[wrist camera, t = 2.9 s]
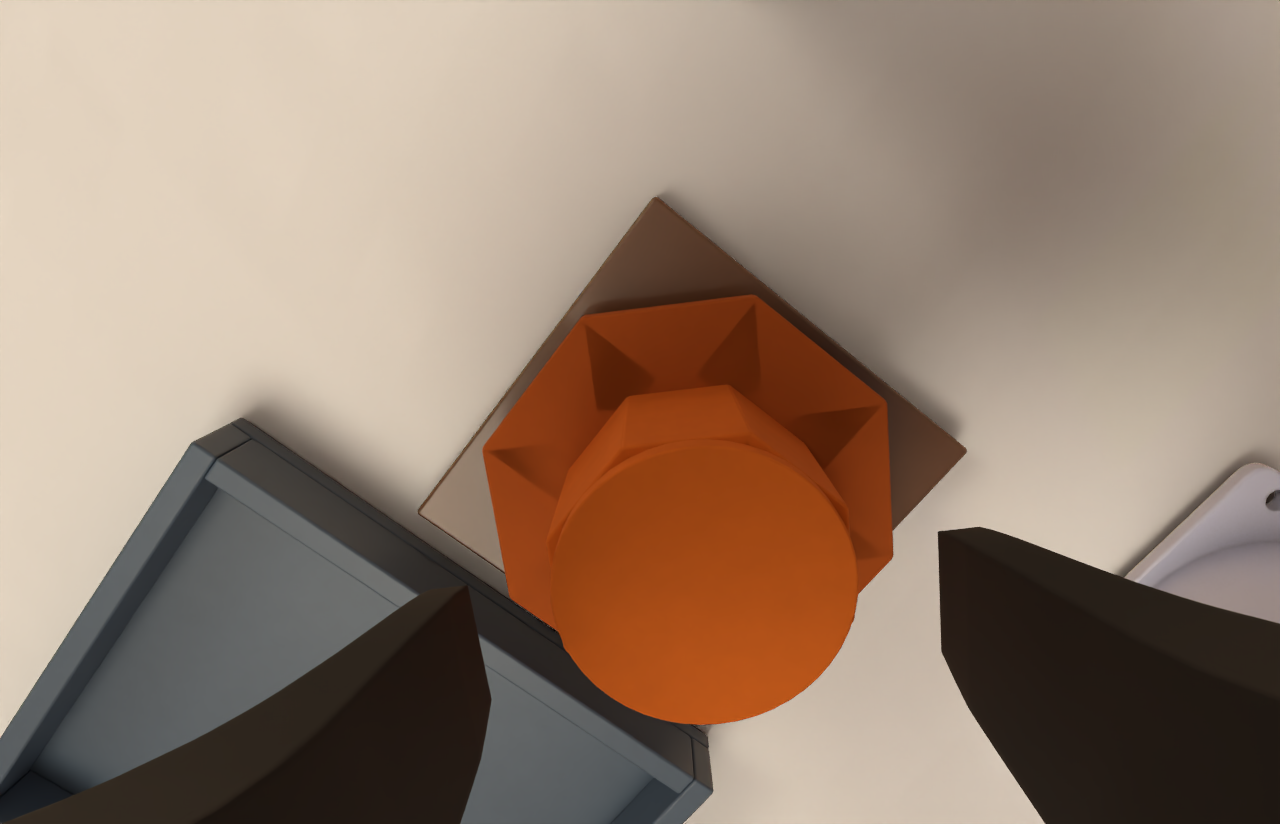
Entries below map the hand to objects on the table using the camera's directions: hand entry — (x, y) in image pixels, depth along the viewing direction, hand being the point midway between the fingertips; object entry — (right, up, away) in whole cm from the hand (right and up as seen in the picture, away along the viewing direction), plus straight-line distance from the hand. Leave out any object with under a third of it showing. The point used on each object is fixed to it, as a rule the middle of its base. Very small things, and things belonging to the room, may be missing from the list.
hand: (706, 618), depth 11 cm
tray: (-9, -6, +9) cm, 13 cm away
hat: (0, +1, +5) cm, 5 cm away
